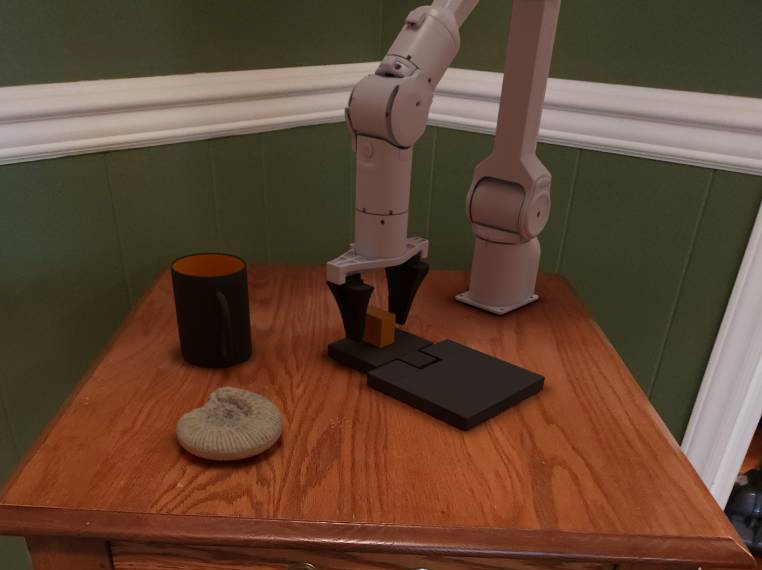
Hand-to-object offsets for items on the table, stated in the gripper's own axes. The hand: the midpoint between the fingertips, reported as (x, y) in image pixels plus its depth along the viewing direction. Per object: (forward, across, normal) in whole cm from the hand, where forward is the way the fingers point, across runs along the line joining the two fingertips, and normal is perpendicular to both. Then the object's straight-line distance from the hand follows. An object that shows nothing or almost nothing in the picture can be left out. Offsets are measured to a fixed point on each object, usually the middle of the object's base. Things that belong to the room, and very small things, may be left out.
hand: (376, 330), depth 86 cm
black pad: (+3, 0, +3) cm, 4 cm away
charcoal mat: (+3, 0, +12) cm, 13 cm away
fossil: (+3, +25, +4) cm, 26 cm away
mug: (+3, +15, -11) cm, 19 cm away
